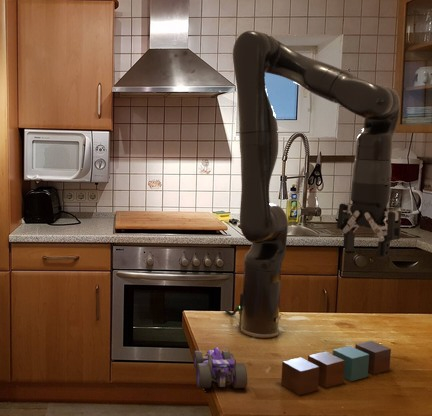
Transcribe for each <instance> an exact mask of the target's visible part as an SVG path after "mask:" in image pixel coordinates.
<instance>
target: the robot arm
mask: <svg viewBox="0 0 432 416" xmlns="http://www.w3.org/2000/svg"><path fill="white" fill-rule="evenodd" d="M232 63H233V70H234V77H235V82H236V91H237V109H238V125H239V126H238V134H239V135H238V136H239V139H238V140H239V153H240V154H239V155H240V181H241V182H240V183H241V187H240V188H241V189H240V191H241V193H240V208H239V228H240V231H241V234H242V235H243V237H244V238H245V240H247V241H248V242H250V243H251V246H250V249H249V250H247V252H246V253H245V255H244V258H243V279H242V291H241V292H240V294H239V297H240V298H239V304H238V307H236V308H234V310H233V311H232V312H231V311H230V310H229V309H227V308H225V309H224V312H225V313H227V314H228V315H229V316H235V315H236V314H237V312H238V316H239V317H238V328H239V329H240V332H241V333H243V334H244V335H247V336H249V337H253V338H258V339H269V338H270V339H271V338H275V337H277V336H278V335H279V334H280V333H279V323H280V320H281V319H282V315H280V307H281V305H280V303H281V283H282V265H283V261H284V258H285V256H286V250H287V239H288V226H289V224H288V223H289V222H288V217H287V214H286V212H285V210H284V209H283V208H282V207H281V206H279V205H278V204H275V203H270V202H271V201H270V185H271V180H272V175H273V172H274V170H275V166H276V164H277V159H278V156H279V127H278V121H277V118H276V117H277V116H276V113H275V112H274V109H273V106H272V104H271V101H270V99H269V96H268V93H267V88H266V74H270V75H275V76H279V77H282V78H285V79H287V80H289V81H292V82H293V83H295V84H297V85H298V86H300V87H301V88H303V89H304V90H305V91H308V92H309V93H312V94H313V95H315V96H318V97H320V98H322V99H324V100H326V101H328V102H331V103H334V104H336V105H339V106H340V107H342V108H344V109H346V110H347V111H349V112H350V113H353V114H354V115H356V116H358V117H360V118H363V119H364V121H363V126H362V131H361V132H360V133H359V134H358V135H357V137H356V142H355V151H354V152H355V153H354V163H353V167H352V175H351V187H350V201H351V202H352V203H350V202H345V203H344V202H343V203H340V204H339V206H338V213H337V214H338V215H337V221H336V228H337V229H338V230H341V231H342V232H343V242H342V243H343V244H342V245H343V247H344V250H346V251H352V250H354V248H355V240H356V239H355V238H356V233H355V232H356V231H357V229H358V228H359V227H365V228H368V229H371V230H372V231H373V233H375V234H376V237H377V238H378V240H379V241H377V252H376V258H377V259H380V260H384V259H386V258H388V256H389V254H390V248H391V246H390V245H391V242H392V241H396V240H400V239H401V226H402V225H401V223H402V213H401V211H400V210H388V208H387V207H388V203H389V202H390V193H391V183H392V157H393V156H392V155H393V146H394V145H393V138H394V135H395V132H396V129H397V124H398V121H399V117H400V112H401V99H400V95H399V94H398V92H397V91H396V90H395V89H393V87H392V88H391V87H388V86H383V85H380V84H376V83H373V82H370V81H368V80H364V79H362V78H359V77H357V76H356V75H355V74H353V73H351V72H349V71H346V70H345V69H341V68H339V67H337V66H334V65H331V64H329V63H326V62H323V61H320V60H317V59H314V58H311V57H309V56H305V55H303V54H301V53H299V52H297V51H295V50H293V49H291V48H290V47H288V46H287V45H285V44H284V43H282V42H281V41H280V40H279V39H276V38H275V37H274V36H273V35H271V34H267V33H265V32H261V31H256V30H246V31H243V32H242V33H241V34H240V35H238V37H237V38H236V40H235V42H234V44H233V47H232ZM351 215H352V216H351Z"/></svg>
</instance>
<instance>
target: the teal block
mask: <svg viewBox="0 0 432 416" xmlns="http://www.w3.org/2000/svg"><path fill="white" fill-rule="evenodd" d="M332 355H334V356H336V357H338V358H341V359H343V360H345V363H344V377H343V379H345V380H346V381H349V382H354V381H357V380H361V379H365V378H368V375H369V374H368V373H369V372H368V365H369V354H367V353H365V352H362V351H360V350H358V349H355V347H354V346H351V345H348V346H343V347H339V348H335V349H332Z"/></svg>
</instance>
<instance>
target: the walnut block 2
mask: <svg viewBox="0 0 432 416" xmlns="http://www.w3.org/2000/svg"><path fill="white" fill-rule="evenodd" d="M307 361H309V362H311V363H313V364H315V365H317V366H319V382H318V386H320V387H322V388H324V389H328V388H331V387H335V386H339V385H342V384H344V378H343V377H344V363H345V360H343V359H341V358H338V357H336V356H334V355H333V353H331V352H328V351H321V352H316V353H312V354H308V355H307Z"/></svg>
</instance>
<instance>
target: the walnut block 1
mask: <svg viewBox="0 0 432 416" xmlns="http://www.w3.org/2000/svg"><path fill="white" fill-rule="evenodd" d="M318 382H319V366H317V365H315V364H313V363H311V362H309V361H308V359H305V358H303V357H301V356H299V357H296V358H291V359H287V360H283V361H282V363H281V382H280V385H281V386H283V387H285V388H286V389H288V390H290V391H291V392H292V393H295V394H296V395H298V396H302V395H306V394H309V393H313V392H318V391H319V384H318Z"/></svg>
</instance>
